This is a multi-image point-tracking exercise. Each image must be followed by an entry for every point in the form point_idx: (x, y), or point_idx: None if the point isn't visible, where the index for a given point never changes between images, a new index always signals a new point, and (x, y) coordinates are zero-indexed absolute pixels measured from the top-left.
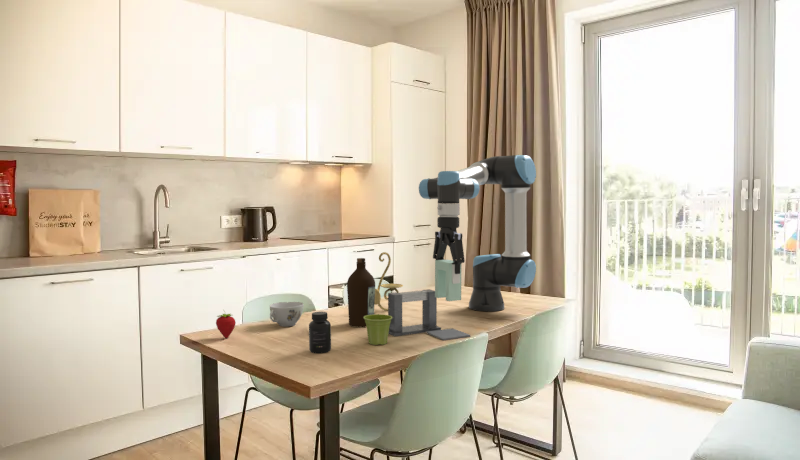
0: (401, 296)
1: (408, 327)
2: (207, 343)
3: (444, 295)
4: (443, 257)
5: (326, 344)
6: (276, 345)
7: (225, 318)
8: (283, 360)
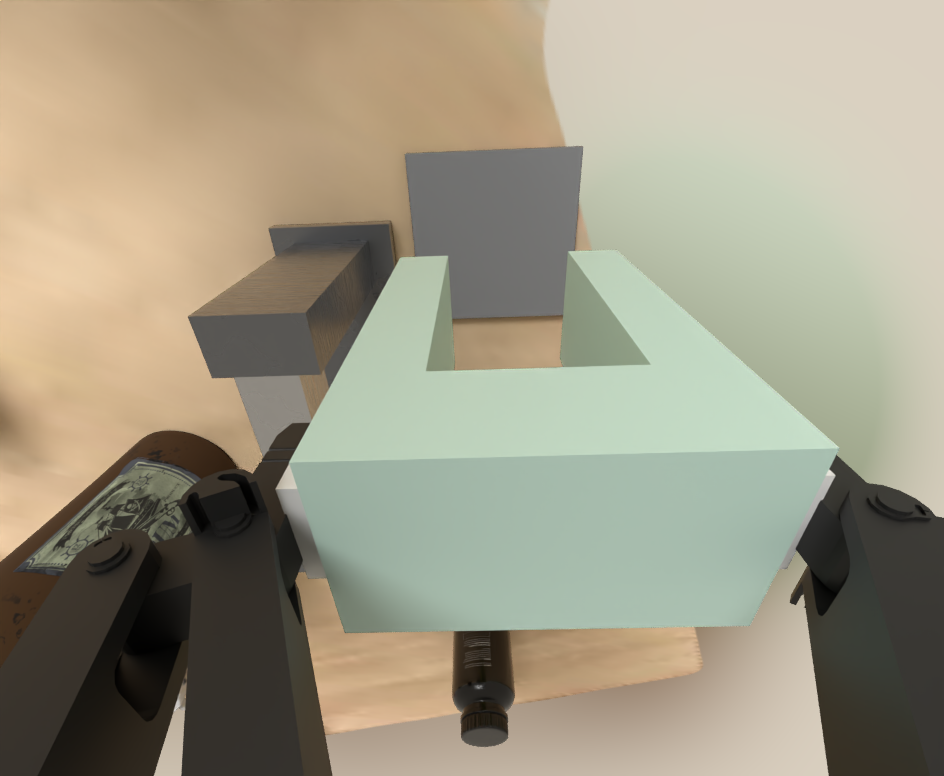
0: None
1: (333, 363)
2: (324, 731)
3: (451, 314)
4: (275, 556)
5: (509, 638)
6: (390, 666)
7: None
8: (517, 674)
